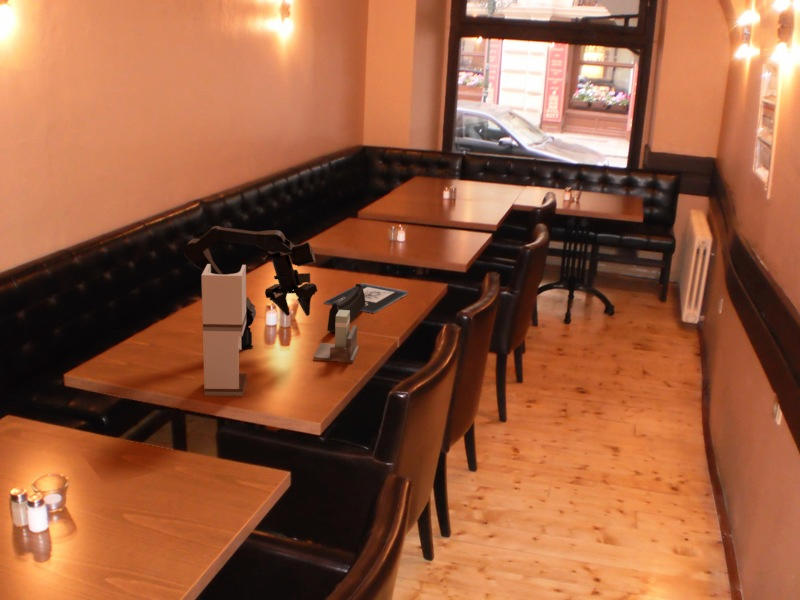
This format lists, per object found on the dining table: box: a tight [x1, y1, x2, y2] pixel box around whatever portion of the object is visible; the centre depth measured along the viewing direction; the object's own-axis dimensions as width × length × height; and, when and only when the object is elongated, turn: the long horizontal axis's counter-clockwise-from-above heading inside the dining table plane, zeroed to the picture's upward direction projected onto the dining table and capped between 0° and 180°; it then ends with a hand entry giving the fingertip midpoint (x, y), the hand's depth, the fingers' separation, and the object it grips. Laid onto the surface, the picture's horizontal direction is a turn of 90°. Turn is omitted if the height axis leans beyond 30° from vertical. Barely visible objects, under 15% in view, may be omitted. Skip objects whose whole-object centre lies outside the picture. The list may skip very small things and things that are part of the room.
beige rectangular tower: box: [201, 264, 248, 397], centre depth 239 cm, size 11×11×35 cm
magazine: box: [327, 283, 365, 333], centre depth 302 cm, size 17×3×30 cm
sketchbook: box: [323, 282, 409, 314], centre depth 332 cm, size 22×30×2 cm
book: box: [334, 310, 351, 348], centre depth 271 cm, size 4×6×13 cm, turn 174°
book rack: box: [313, 324, 360, 364], centre depth 272 cm, size 12×13×8 cm
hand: (298, 315), depth 273 cm, fingers open, 9 cm apart
